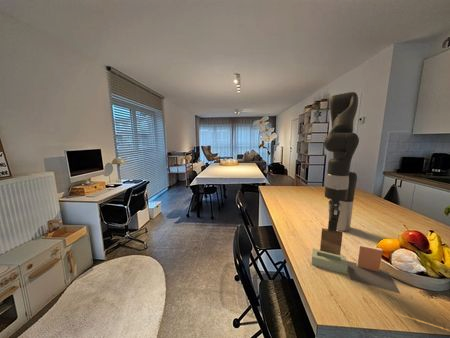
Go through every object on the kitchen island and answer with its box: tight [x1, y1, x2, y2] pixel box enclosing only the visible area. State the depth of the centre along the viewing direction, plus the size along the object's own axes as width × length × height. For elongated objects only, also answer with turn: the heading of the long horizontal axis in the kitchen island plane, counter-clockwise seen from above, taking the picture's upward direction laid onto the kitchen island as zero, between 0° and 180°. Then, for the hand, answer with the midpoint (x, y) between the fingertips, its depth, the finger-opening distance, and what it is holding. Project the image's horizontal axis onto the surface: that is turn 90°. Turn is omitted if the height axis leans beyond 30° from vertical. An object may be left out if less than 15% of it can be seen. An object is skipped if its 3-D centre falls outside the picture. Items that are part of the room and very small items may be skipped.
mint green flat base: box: [310, 247, 348, 275], centre depth 77 cm, size 7×12×4 cm, turn 64°
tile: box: [356, 243, 383, 272], centre depth 74 cm, size 2×7×9 cm, turn 64°
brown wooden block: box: [319, 214, 343, 255], centre depth 75 cm, size 2×7×15 cm, turn 64°
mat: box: [347, 260, 401, 294], centre depth 71 cm, size 12×14×1 cm
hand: (332, 228), depth 75 cm, fingers closed on brown wooden block, 2 cm apart
